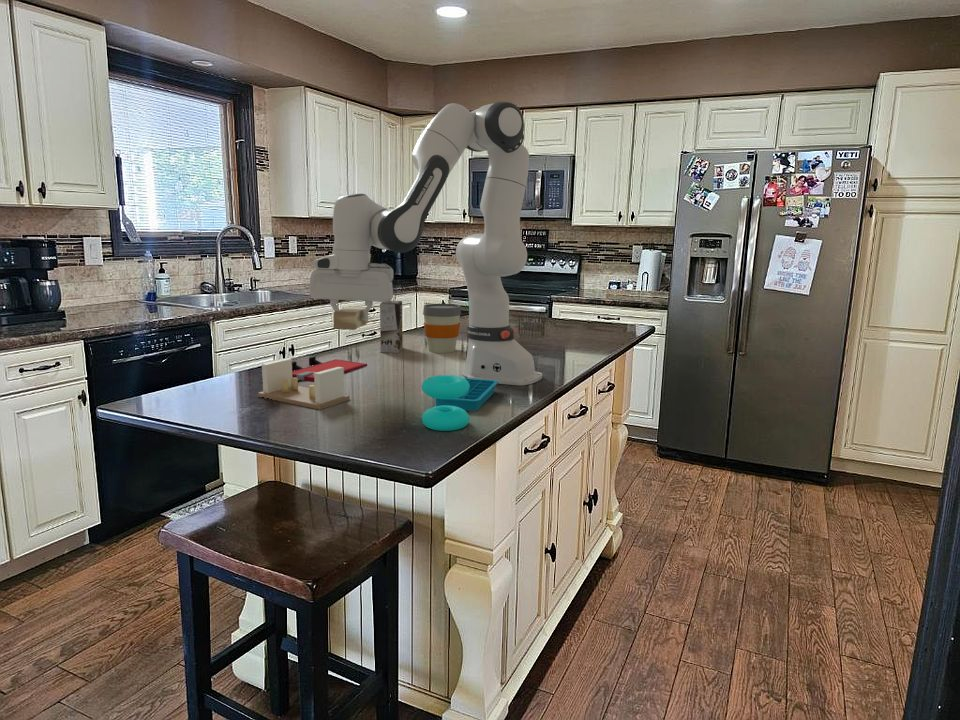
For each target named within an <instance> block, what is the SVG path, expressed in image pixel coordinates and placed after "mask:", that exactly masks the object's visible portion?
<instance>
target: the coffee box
mask: <svg viewBox="0 0 960 720" xmlns="http://www.w3.org/2000/svg"><path fill="white" fill-rule="evenodd" d="M379 331H380V334H379V336H380V339H379V340H380V341H379V342H380V343H379V344H380V348H379V349H380V350H379V351H380V353H395V354H398V353H400V352H401V350H402V349H403V301H402V300H391V301H389V302H380V303H379Z"/></svg>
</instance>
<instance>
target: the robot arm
mask: <svg viewBox="0 0 960 720" xmlns="http://www.w3.org/2000/svg"><path fill="white" fill-rule="evenodd" d="M524 132H525V120H524V116H523V113H522V110H521V109H520V108H519V107H518V106H517V105H516V104H515V103H512V102H509V101H497V102H494V103H489V104H484V105H482V106H480V107H479V108H476V109H473V110H471V111H470V110H469V109H468V108H466V106H464V105H462V104H459V103H454V102H453V103H448V104H446V105H445V106H444V107H443V108H442V109H441V110H439V112H437V113H436V114H435V116H434V117H433V118H432V119H431V120H430V122H429V123H428V124H427V126H426V127H425V129H424V130H423V132H422V133H421V134H420V136H419V137H418V139H417V141H416V143H415V145H414V147H413V150H412V153H411V155H412V156H411V157H412V158H411V159H412V162H413V164H414V167H415V168H416V170H417V171H418V172H417V176H416V179H415V180H414V182H413V183H412V186H411V187H410V189H409V191H408V193H407V195H406V196H405V197H404V200H403V202H401V203H400V204H399V205H398V206H397V207H395V208H393V209H388V208H386V207H384V206H382V205H380V204H378V203H376V202H375V201H374V200H373V199H371V198H370V197H369V196H368V195H367V194H366V193H351V194H345V195H341V196H339V197H338V198H337V199H336V200H335V202H334V206H333V212H332V213H333V214H332V234H333V236H334V237H333V239H334V241H333V245H332V254H329V255H326V256H323V257H319V258H317V259H314V260H313V262H312V266H313V268H314V269H313V270H312V271H311V274H310V277H309V278H310V279H309V286H308V287H309V288H308V289H309V291H308V292H309V295H310V297H311V299H317V300H330V301H329V303H330V306H331V308H332V310H333V311H334V312H335V311H338V310H340V308H339V307H338V304H339V301H353V302H354V301H357V302H364V307H367V308H366V309H365V311H364V312H361V319H364V320H367V319H368V320H369V312H370V310H371V309H372V307H373V305H374V303H373V302H375V303H376V302H377V303H378V302H379V303H382V302H389V301H393V298H394V288H393V280H394V278H395V276H394V274H395V273H394V269H393V267H392V266H391V265H388V264H387V263H377V262H371V247H372V246H373V247H375V248H377V249H382V250H385V251H386V250H387V251H388V250H389V251H392V252H395V253H398V254H403V253H408V252H410V251H412V250H414V249H415V248H416V247H417V246H418V244H419V243H420V241H421V239H422V236H423V230H424V226H425V221H426V219H427V217H428V214H429V213H430V211H431V209H432V208H433V205H434V204H435V202H436V200H437V198H438V196H439V195H440V193H441V191H442V189H443V187H444V185H445V184H446V181H447V179H448V177H449V175H450V173H451V172H452V170H453V169H454V167H455V166H456V164H457V163H458V161H459V159H461V157H462V155H463V153H464V152H465V150H466V149H467V150H469V151H471V152H476V153H481V152H487V155H488V169H487V172H486V177H485V181H484V186H483V191H482V193H481V199H480V203H479V209H480V212H481V213H482V215H483V219H484V232H483V233H473V234H470V235H468V236H465V237H463V238H462V239H461V240H460V241H459V242H458V244H457V246H456V249H455V258H456V261H457V263H458V264H459V266H460V267H461V270H462V272H463V275H464V279H465V283H466V287H467V294H468V295H467V296H468V324H467V330H466V332H467V334H466V337H467V338H466V339H467V352H466V357H465V358H466V359H465V364H464V368H463V370H462V375H463V376H464V377H465V378H472V379H485V380H496V381H498V385H499V384H500V385H508V386H509V385H510V386H511V385H512V386H526V385H528V386H529V385H531V384H534V383H536V382H537V383H538V382H539V381H541V380H542V378H543V373H542V372H539V371H536V369H535V362H534V358H533V357H534V356H533V355H532V354H531V353H530V352H529V351H528V350H526V348H524V347H523V346H522V345H521V344H520V343H519V342H518V341H517V340H515V334H516V333H517V331H518V328H515V329H513V328H512V327H511V325H510V324H509V323H510V321H509V320H510V319H509V317H510V316H509V315H510V298H509V294H508V293H507V291H506V290H505V289H504V286H503V283H502V278H501V277H509V276H512V275H517V274H518V273H520V272H521V271H522V270H523V269H525V266H526V264H527V261H528V251H527V247H526V245H525V243H524V242H523V240H522V236H521V212H522V207H523V201H524V198H525V192H526V188H527V183H528V177H529V176H528V175H529V170H530V169H529V166H530V152H529V151H528V149H527V148H526V146H524V145H523V142H524V140H525V135H524V134H525V133H524Z"/></svg>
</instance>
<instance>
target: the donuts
mask: <svg viewBox="0 0 960 720" xmlns="http://www.w3.org/2000/svg"><path fill="white" fill-rule="evenodd" d="M464 378H465V377H462V376H460V375H459V376H458V375H450V374H449V375H448V374H443V375H442V374H441V375H432V376H430V377H429V376H428V377H427V378H425V379H424V380H423V381H422V384H421V391H422V392H423V393H424V394H425V395H426V396H428V397H429V398H432V399H434V398H436V399H456V398H459V397H462V396H464V395H465V394H466V393H467V392H468V391H469V388H470V385H469V382H468V381H467V380H466V379H464ZM436 399H435V400H436ZM421 421H422V424H423V425H424V426H425V427H426V428H429V429H431V430H434V431H440V432H441V431H443V432H449V431H457V430H461V429H463V428H465V427H466V426H468V424H469V422H470V415H469V413H468V412H467V410H464V409H462V408H459V407H456V406H449V405H442V406H436V405H435V406H433V407H429V408H428V409H426V410H425V411H424V412H423V413H422V416H421Z"/></svg>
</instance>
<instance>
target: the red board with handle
mask: <svg viewBox="0 0 960 720" xmlns="http://www.w3.org/2000/svg"><path fill="white" fill-rule="evenodd" d="M308 365H311V366H307V367H302V366H300V365H298V364H297V361H292V378H298V381H300V380H302V381H308V380H309V381H310V382H314V373H317V372H320V371H324V370H328V369H332V368H335V367H343V368H344V374H347V373H350V372H353V371H355V370H358V369H362V368H364V367H367V366H368V363H362V362H357V361H349V360H344V359H343V360H342V359H332V360H329V361H325V362H321V361H320V360H317V359H316V356H310V357H308ZM312 365H313V366H312ZM294 370H295V371H294ZM259 379H260V378H259ZM260 380H261V381H263V378H261V379H260ZM302 381H301V382H302ZM309 381H308V382H309Z"/></svg>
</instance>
